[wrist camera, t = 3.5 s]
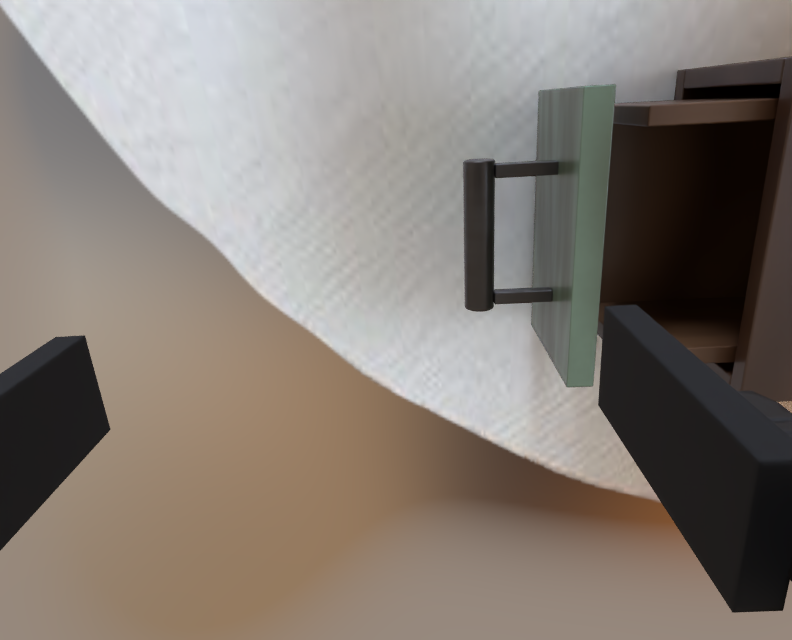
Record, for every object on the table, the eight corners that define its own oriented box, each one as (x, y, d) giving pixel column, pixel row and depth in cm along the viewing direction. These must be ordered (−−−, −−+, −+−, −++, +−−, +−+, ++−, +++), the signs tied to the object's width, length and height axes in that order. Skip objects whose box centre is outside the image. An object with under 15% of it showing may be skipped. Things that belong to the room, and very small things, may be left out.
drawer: (458, 327, 33) (472, 391, 26) (454, 95, 29) (471, 92, 22) (770, 314, 33) (877, 375, 25) (815, 75, 28) (959, 65, 21)
